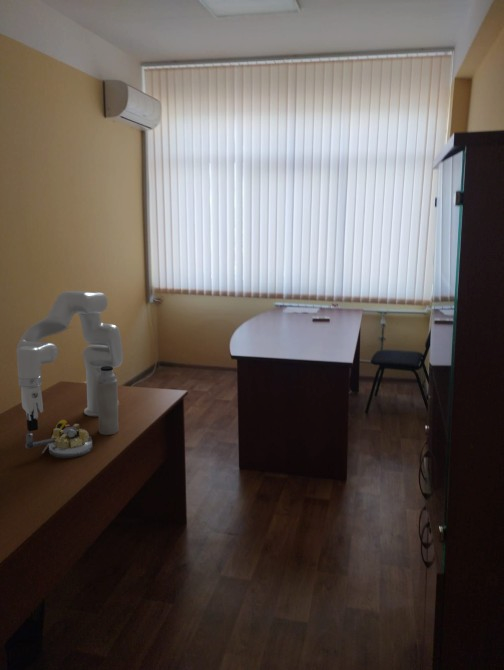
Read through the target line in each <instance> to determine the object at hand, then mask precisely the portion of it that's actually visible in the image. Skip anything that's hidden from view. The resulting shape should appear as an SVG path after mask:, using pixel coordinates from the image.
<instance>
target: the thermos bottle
mask: <svg viewBox="0 0 504 670" xmlns="http://www.w3.org/2000/svg"><path fill="white" fill-rule="evenodd" d="M113 369H114V367H112V366H103V367H101V374H100V375H99V380H97V389H98V416H97V417H98V432H99V434H101V435H107V436H110V435H114V434H116V433H117V434H118V432H119V425H120V424H119V405H118V401H119V400H118V399H119V397H118V395H119V394H118V391H119V390H118V379H117V378H116V377H117V376H116V373H114V370H113Z"/></svg>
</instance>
